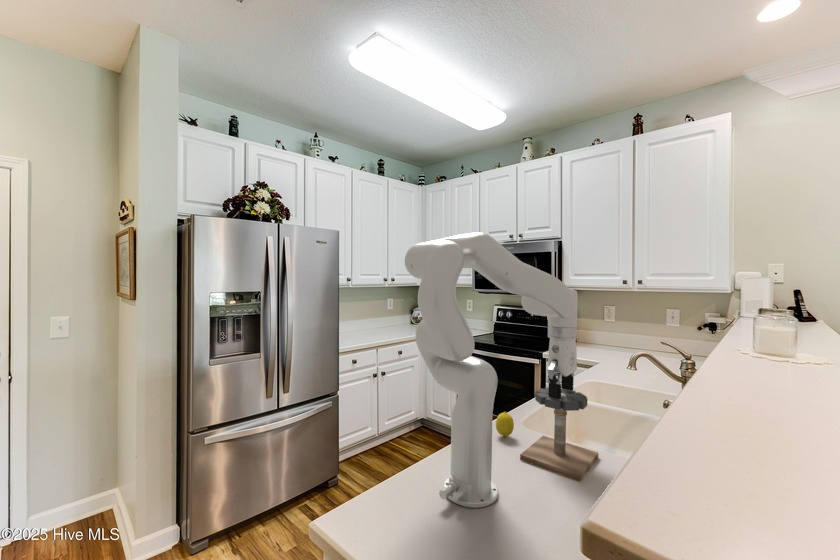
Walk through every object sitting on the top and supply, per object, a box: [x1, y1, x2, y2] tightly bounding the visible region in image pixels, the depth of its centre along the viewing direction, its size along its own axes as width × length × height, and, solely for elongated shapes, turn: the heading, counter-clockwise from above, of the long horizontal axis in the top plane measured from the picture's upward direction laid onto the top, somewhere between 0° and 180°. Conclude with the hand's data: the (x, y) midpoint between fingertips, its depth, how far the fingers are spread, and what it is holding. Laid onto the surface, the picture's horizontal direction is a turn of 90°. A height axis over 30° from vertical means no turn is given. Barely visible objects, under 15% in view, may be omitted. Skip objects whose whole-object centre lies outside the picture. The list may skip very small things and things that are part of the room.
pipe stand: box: [519, 393, 599, 482], centre depth 103 cm, size 16×16×18 cm
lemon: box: [495, 411, 515, 438], centre depth 116 cm, size 6×6×8 cm
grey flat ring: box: [534, 387, 589, 412], centre depth 102 cm, size 13×13×2 cm
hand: (561, 393), depth 102 cm, fingers open, 9 cm apart
